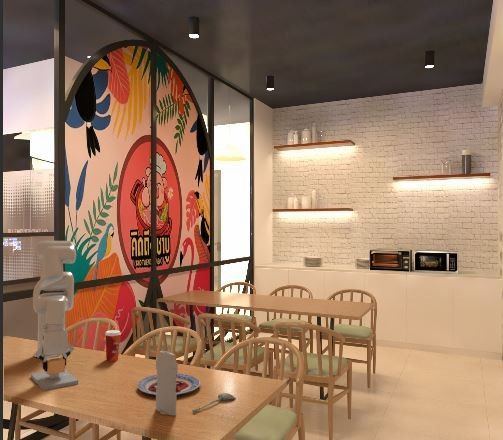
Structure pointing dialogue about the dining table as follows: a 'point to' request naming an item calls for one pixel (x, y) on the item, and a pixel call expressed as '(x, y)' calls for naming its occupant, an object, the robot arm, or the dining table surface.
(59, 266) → the robot arm
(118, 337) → the paper cup
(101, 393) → the dining table surface
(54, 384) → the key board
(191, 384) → the ceramic plate
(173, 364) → the tall pale column
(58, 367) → the tan slotted block
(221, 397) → the soupspoon
